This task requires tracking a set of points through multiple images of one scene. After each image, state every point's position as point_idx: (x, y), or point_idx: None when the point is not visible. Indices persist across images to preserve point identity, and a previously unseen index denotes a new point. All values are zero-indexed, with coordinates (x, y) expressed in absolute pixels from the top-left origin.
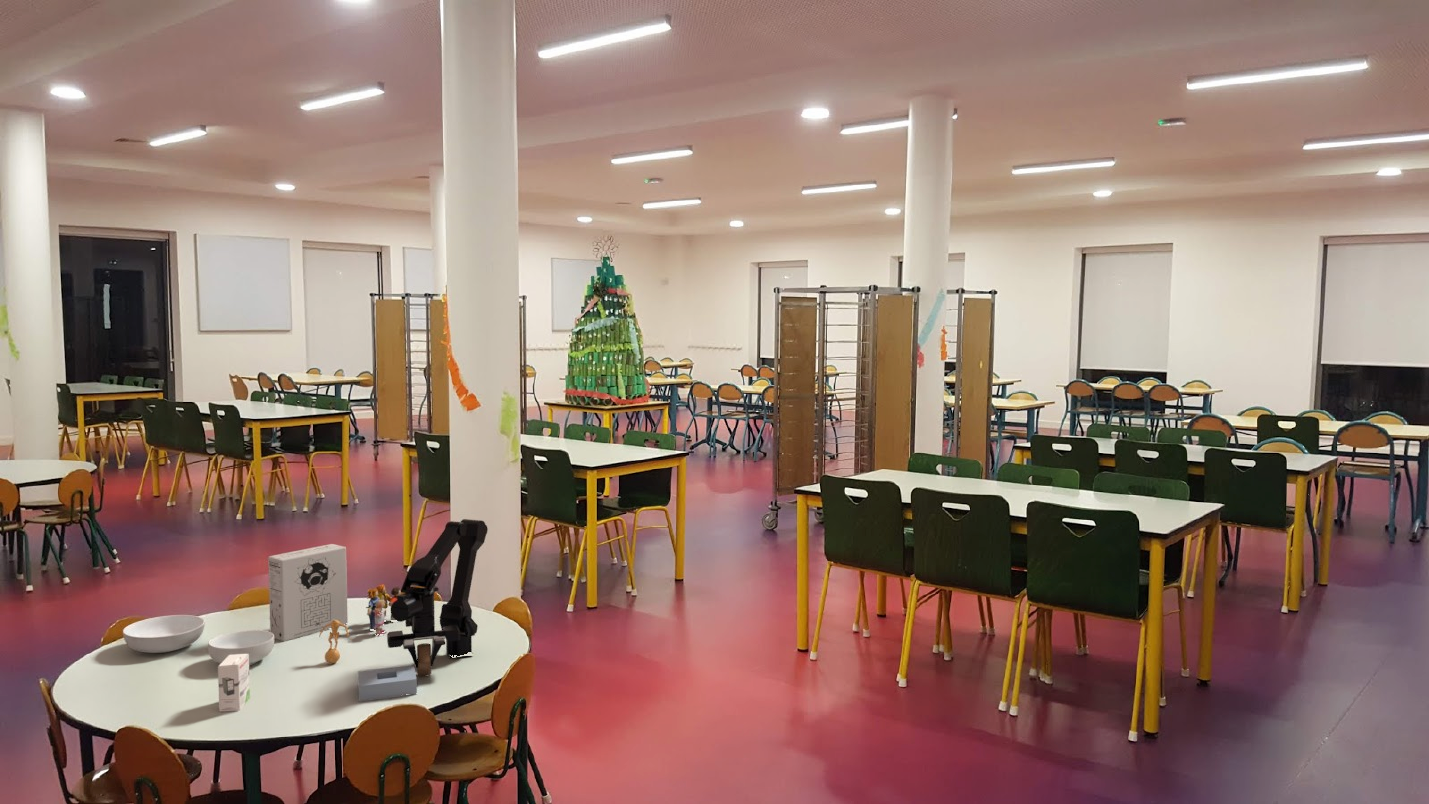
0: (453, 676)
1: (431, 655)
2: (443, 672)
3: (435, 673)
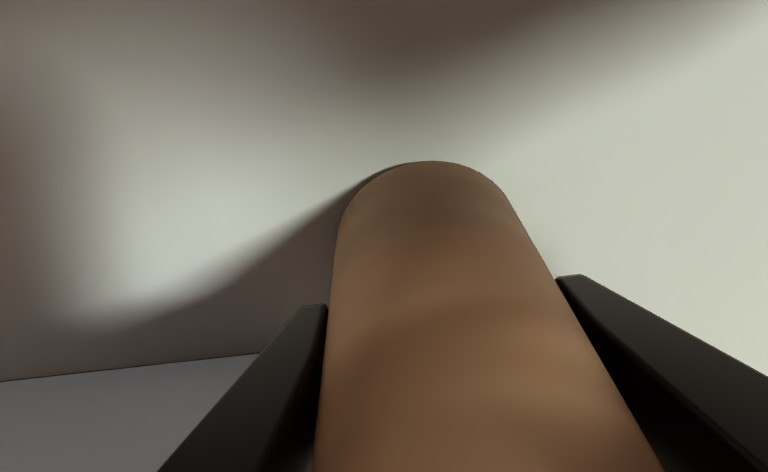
0: (743, 343)
1: (657, 453)
2: (680, 206)
3: (572, 220)
